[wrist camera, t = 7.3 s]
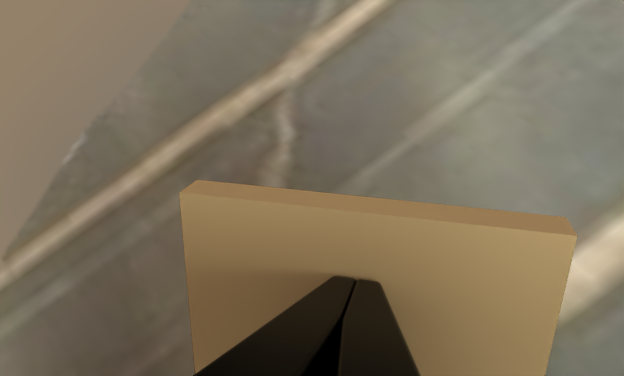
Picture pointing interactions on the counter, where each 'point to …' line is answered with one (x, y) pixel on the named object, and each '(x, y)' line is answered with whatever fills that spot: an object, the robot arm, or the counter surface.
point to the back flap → (379, 271)
